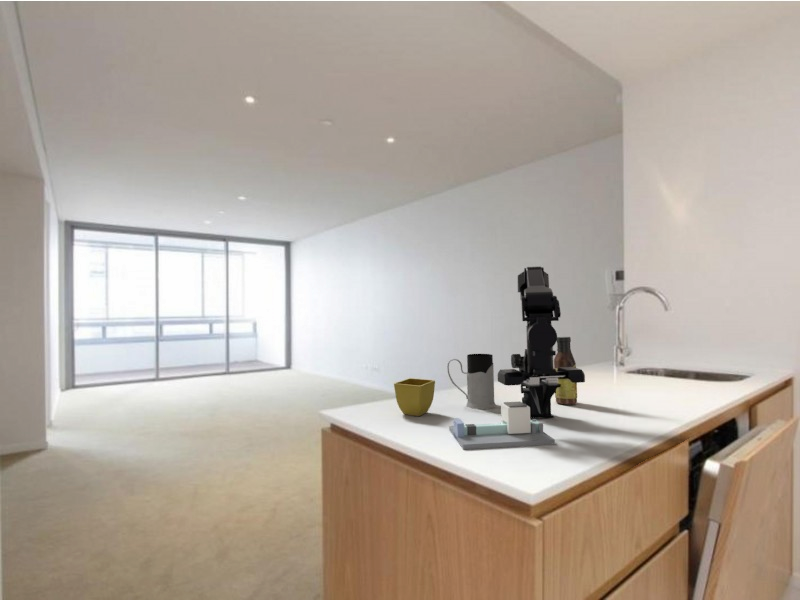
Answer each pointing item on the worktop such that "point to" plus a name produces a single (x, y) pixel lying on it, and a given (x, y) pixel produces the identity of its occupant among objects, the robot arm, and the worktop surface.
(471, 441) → the comb board
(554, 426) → the worktop surface
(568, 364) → the sauce bottle
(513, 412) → the sleeve
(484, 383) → the glass holder
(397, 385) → the flower pot
